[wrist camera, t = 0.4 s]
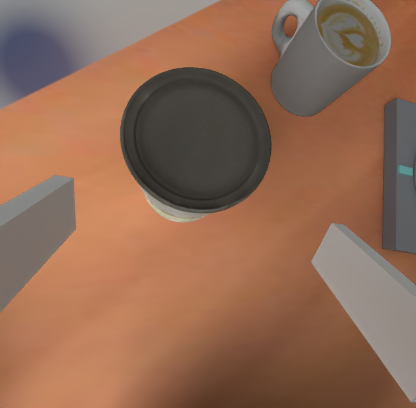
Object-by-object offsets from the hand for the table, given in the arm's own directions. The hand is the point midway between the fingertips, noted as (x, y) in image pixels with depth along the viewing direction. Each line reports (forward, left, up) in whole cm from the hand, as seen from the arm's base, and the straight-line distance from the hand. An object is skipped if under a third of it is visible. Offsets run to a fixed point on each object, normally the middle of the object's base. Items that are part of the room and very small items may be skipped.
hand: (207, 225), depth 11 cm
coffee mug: (+26, -13, -17) cm, 34 cm away
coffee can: (+6, +1, -17) cm, 18 cm away
